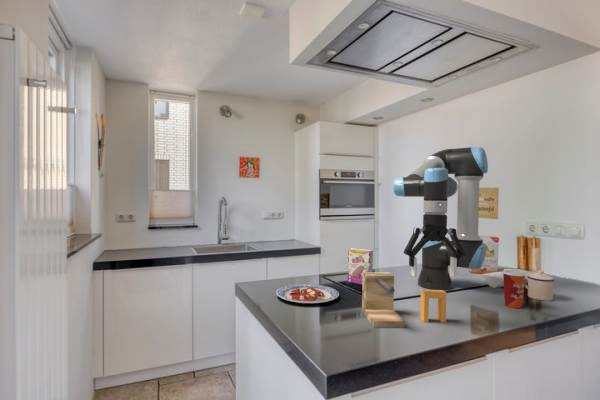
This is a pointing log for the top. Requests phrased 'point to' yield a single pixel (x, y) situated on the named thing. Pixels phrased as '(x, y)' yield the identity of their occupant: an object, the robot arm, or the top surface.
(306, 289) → the ceramic plate
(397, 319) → the wooden l-shaped stand
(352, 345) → the top surface
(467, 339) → the top surface
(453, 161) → the robot arm
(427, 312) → the orange u-shaped bracket
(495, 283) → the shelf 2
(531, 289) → the teacup with lid
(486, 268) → the cracker box
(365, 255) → the candy bar box
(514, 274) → the paper cup
